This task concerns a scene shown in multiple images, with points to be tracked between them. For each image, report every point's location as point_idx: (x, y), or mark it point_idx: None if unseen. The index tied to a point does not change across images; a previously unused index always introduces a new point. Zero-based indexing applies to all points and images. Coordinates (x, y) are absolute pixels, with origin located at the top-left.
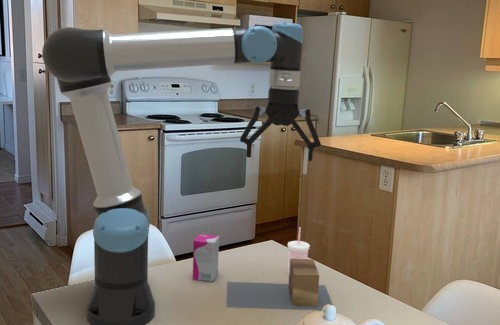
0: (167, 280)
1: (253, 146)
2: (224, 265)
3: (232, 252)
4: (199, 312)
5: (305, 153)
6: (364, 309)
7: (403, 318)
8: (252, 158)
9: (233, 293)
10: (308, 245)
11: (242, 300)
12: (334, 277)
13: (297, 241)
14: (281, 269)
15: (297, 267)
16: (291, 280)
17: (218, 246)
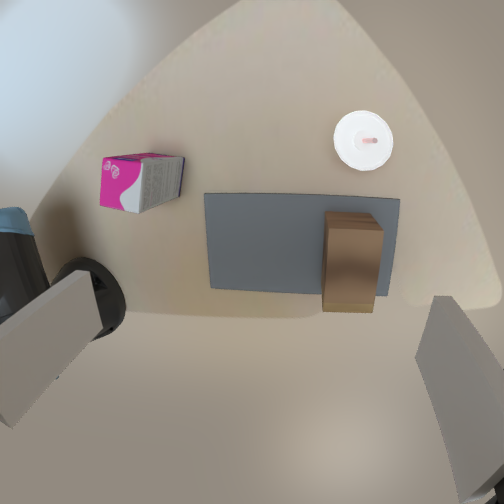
0: None
1: (9, 423)
2: (194, 106)
3: (209, 35)
4: (175, 295)
5: (453, 471)
6: (435, 282)
7: (472, 304)
8: (54, 371)
9: (218, 241)
10: (389, 146)
11: (234, 266)
12: (427, 153)
13: (363, 114)
14: (320, 112)
15: (336, 277)
16: (324, 263)
17: (155, 165)
